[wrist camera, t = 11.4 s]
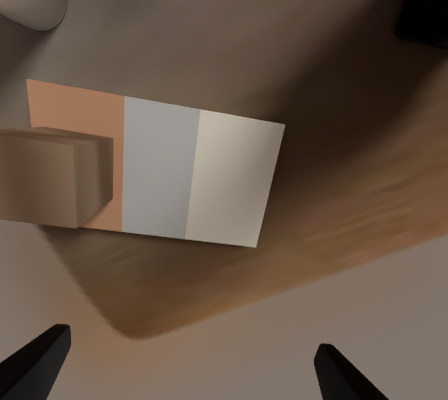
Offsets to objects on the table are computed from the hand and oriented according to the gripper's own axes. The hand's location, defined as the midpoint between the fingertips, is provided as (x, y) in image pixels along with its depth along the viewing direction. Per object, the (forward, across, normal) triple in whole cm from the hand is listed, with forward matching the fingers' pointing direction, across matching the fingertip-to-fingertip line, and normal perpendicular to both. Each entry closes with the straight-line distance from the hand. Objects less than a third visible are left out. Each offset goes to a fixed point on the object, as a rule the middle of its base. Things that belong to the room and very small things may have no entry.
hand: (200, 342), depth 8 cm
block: (+11, +9, -3) cm, 15 cm away
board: (+12, +4, -3) cm, 13 cm away
